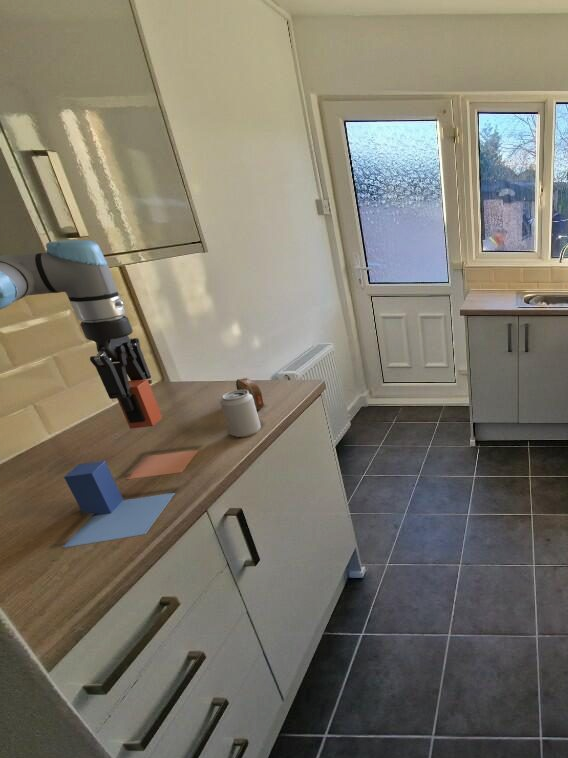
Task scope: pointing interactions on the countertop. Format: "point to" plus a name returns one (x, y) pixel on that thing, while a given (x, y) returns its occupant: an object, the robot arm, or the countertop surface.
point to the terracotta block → (144, 404)
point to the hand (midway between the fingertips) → (143, 416)
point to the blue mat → (122, 521)
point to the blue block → (94, 488)
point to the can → (240, 413)
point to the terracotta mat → (163, 464)
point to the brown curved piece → (251, 391)
